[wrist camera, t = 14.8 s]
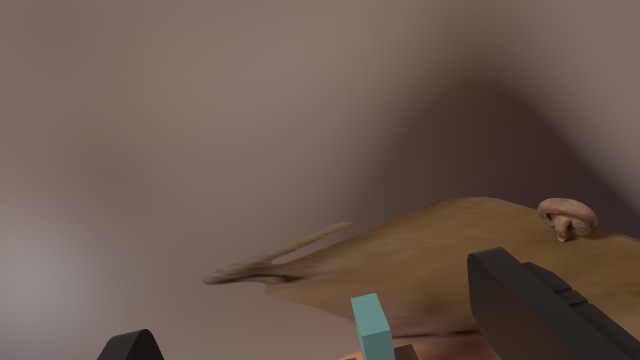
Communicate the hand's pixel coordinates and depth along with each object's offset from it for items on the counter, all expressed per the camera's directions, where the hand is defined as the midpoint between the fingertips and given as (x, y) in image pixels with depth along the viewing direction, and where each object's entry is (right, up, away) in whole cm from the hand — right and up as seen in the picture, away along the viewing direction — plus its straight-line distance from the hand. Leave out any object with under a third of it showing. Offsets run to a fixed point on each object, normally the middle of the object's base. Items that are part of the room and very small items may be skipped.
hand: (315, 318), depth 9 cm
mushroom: (+39, -7, +48) cm, 62 cm away
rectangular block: (+7, -20, +28) cm, 35 cm away
